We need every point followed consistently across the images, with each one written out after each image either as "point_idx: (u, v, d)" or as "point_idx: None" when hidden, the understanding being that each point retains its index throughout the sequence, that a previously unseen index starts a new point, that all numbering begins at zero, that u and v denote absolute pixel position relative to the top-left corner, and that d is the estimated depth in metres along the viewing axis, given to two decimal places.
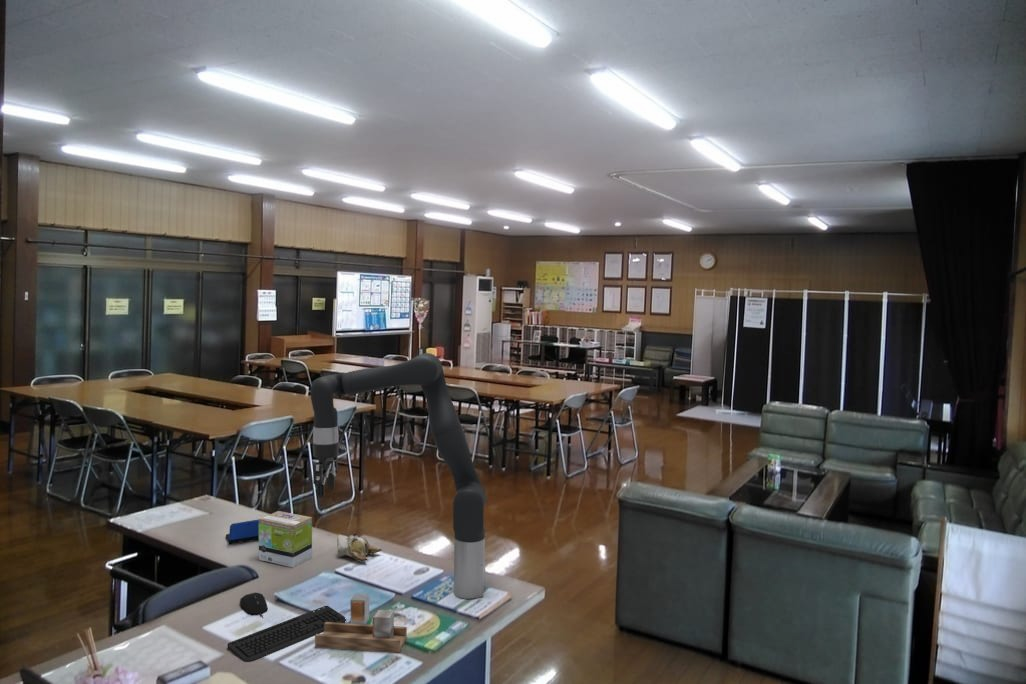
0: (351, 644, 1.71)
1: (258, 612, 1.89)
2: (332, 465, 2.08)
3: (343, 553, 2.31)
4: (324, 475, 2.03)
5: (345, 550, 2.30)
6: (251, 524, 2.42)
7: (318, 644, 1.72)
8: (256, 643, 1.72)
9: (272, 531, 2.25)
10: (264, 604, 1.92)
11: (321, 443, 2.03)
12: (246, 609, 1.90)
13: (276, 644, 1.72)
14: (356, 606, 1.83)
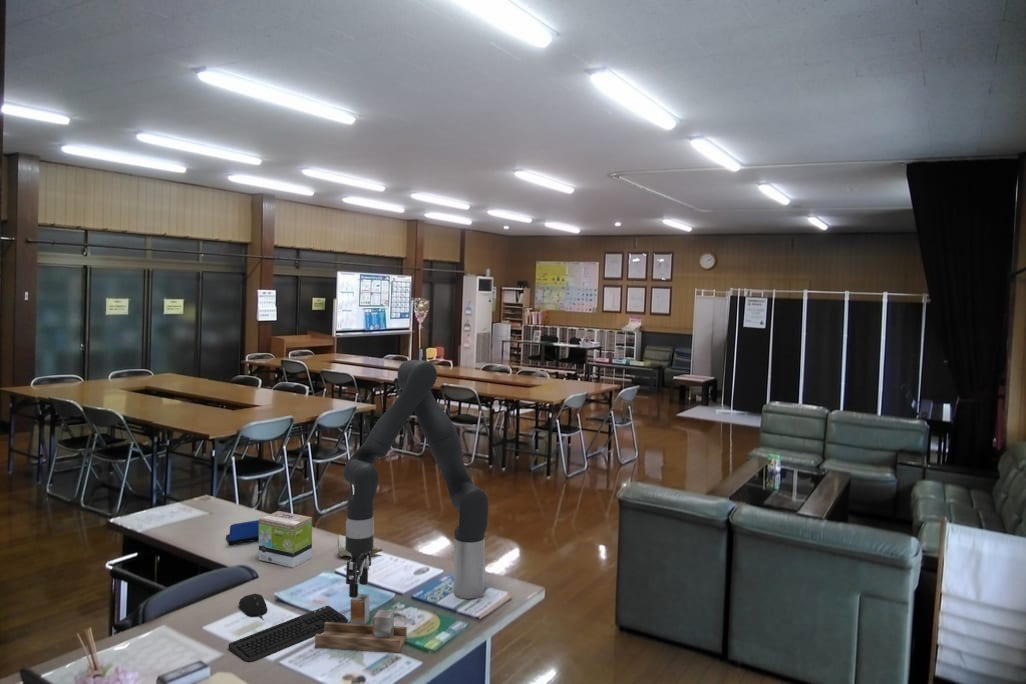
0: (351, 644, 1.71)
1: (258, 613, 1.88)
2: (366, 559, 1.86)
3: (344, 553, 2.31)
4: (358, 573, 1.81)
5: None
6: (251, 525, 2.42)
7: (318, 644, 1.72)
8: (257, 643, 1.72)
9: (272, 531, 2.25)
10: (264, 605, 1.91)
11: (355, 537, 1.81)
12: (246, 610, 1.90)
13: (277, 644, 1.72)
14: (356, 606, 1.83)
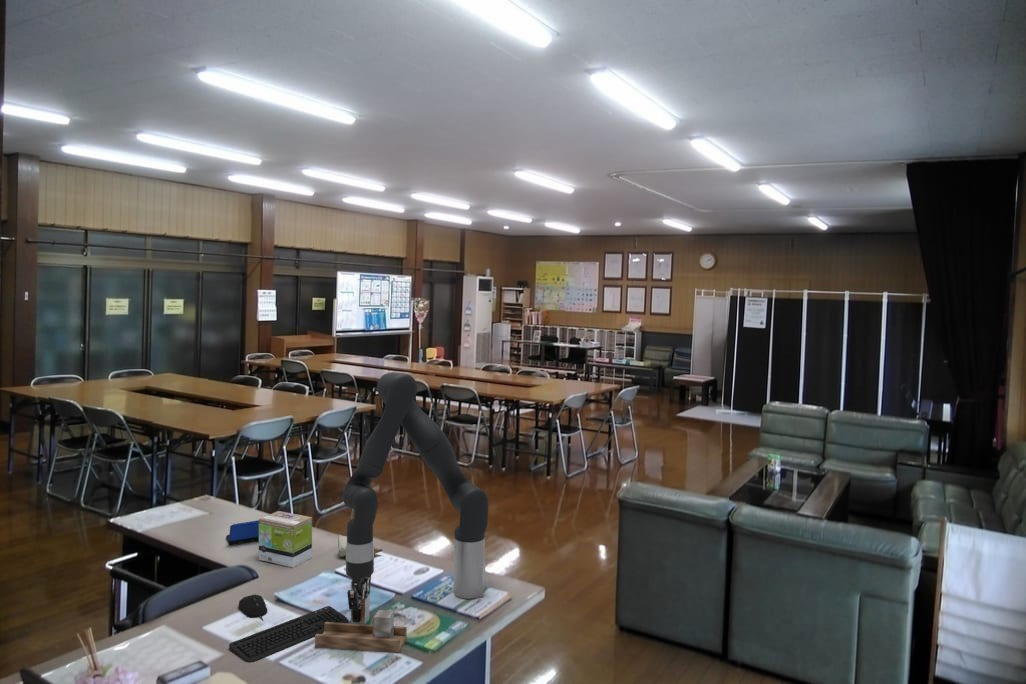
0: (351, 644, 1.71)
1: (258, 614, 1.88)
2: (366, 583, 1.86)
3: (344, 553, 2.30)
4: (360, 598, 1.83)
5: None
6: (251, 525, 2.41)
7: (318, 644, 1.72)
8: None
9: (272, 531, 2.25)
10: (263, 606, 1.91)
11: (355, 561, 1.81)
12: (245, 611, 1.89)
13: (278, 645, 1.72)
14: None
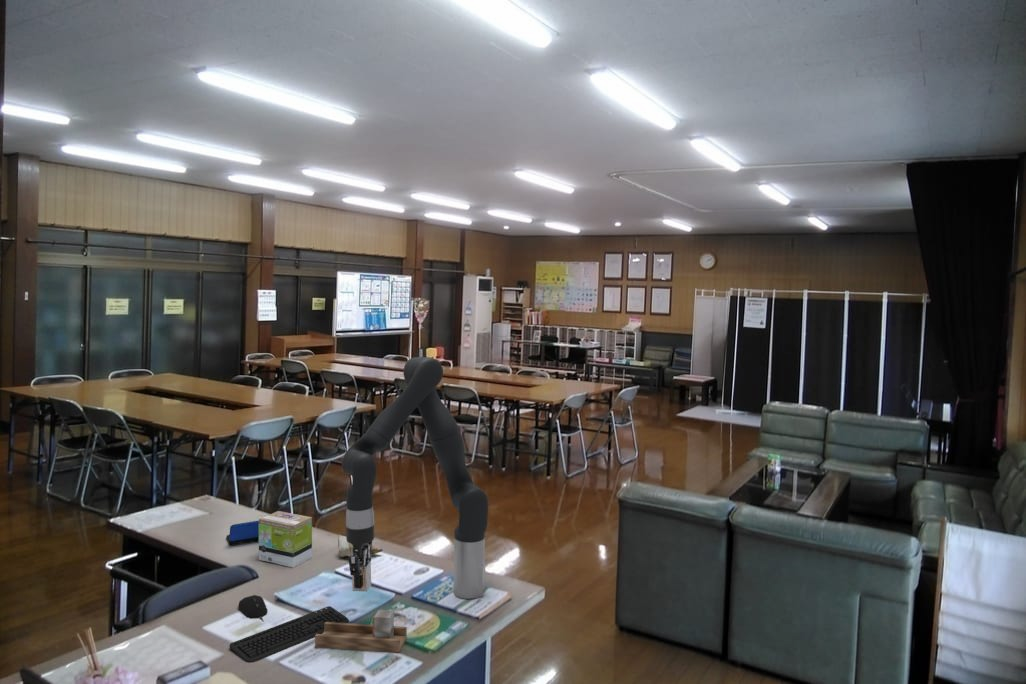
0: (351, 644, 1.71)
1: (258, 615, 1.88)
2: (367, 549, 1.86)
3: (344, 553, 2.30)
4: (361, 564, 1.82)
5: (346, 550, 2.29)
6: (251, 525, 2.41)
7: (318, 644, 1.72)
8: (258, 644, 1.72)
9: (272, 531, 2.25)
10: (264, 607, 1.90)
11: (356, 528, 1.81)
12: (245, 612, 1.89)
13: (278, 645, 1.72)
14: None
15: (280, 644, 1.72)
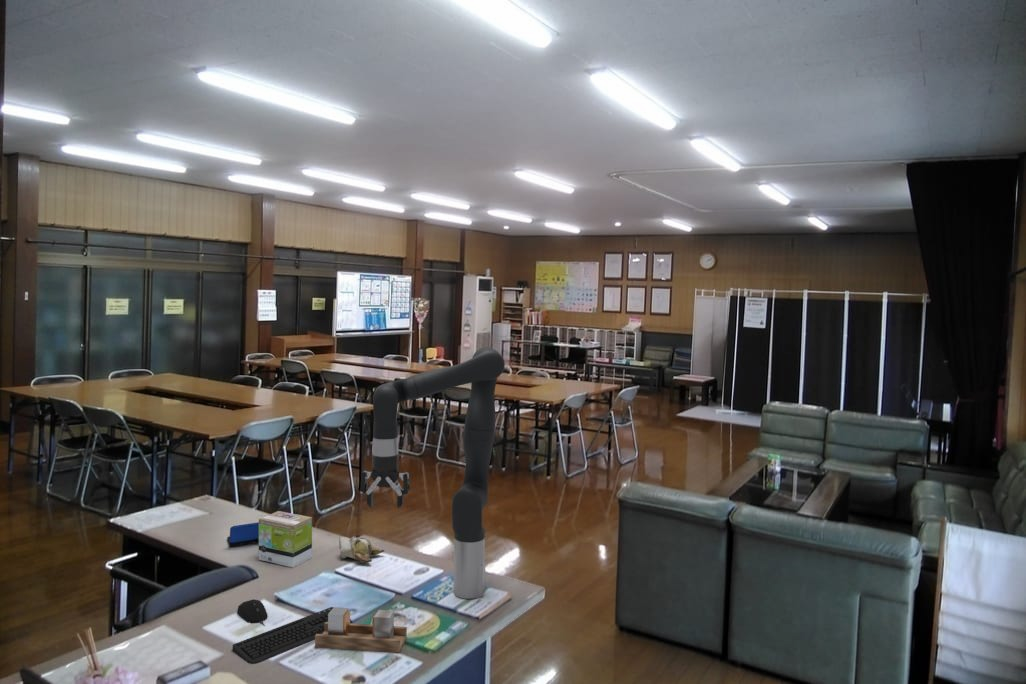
0: (351, 644, 1.71)
1: (258, 619, 1.85)
2: None
3: (346, 554, 2.29)
4: (399, 484, 1.99)
5: (348, 551, 2.28)
6: (252, 527, 2.39)
7: (318, 644, 1.72)
8: None
9: (272, 531, 2.25)
10: (264, 611, 1.88)
11: (397, 453, 1.97)
12: (245, 617, 1.86)
13: (281, 646, 1.71)
14: (348, 617, 1.75)
15: (283, 645, 1.72)
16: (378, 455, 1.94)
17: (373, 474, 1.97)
